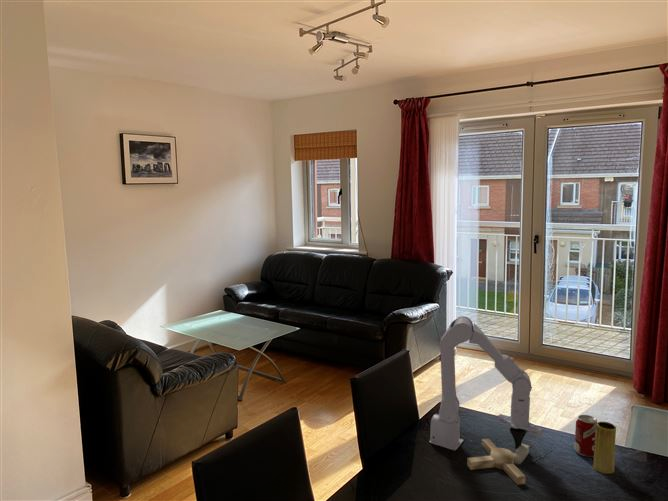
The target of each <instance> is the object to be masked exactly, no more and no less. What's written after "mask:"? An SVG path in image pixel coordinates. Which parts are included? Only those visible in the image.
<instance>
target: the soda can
mask: <svg viewBox="0 0 668 501" xmlns="http://www.w3.org/2000/svg"><path fill="white" fill-rule="evenodd" d="M577 418H578V419H576V421H575V432H574V446H573V447H574V448H573V450H574V451H575V452H576V453H577V454H578V455H580V456H581V457H582V456H583V457H586V458H594V450H595V440H596V429H597V423H598V419H597V418H596V417H595V416H592V415H587V414H580V415H578V417H577Z"/></svg>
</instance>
